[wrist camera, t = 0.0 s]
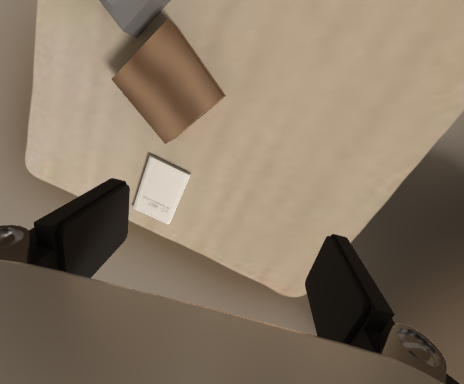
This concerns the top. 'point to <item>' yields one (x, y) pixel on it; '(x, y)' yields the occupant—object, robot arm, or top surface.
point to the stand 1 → (134, 13)
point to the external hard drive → (161, 189)
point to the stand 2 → (168, 83)
